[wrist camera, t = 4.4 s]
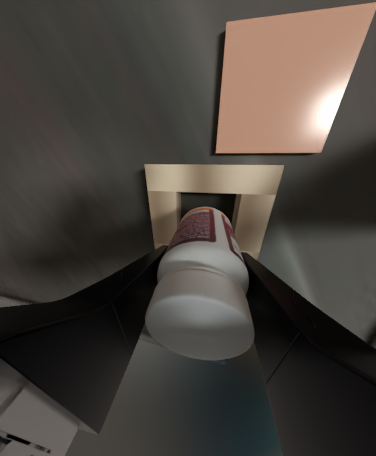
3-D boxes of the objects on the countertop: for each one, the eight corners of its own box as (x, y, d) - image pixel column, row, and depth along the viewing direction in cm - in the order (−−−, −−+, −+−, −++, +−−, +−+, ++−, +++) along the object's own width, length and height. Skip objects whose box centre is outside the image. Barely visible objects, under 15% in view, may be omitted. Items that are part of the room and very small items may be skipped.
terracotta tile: (368, 12, 9) (378, 1, 8) (316, 153, 12) (320, 152, 12) (225, 29, 10) (226, 21, 9) (215, 153, 13) (215, 153, 13)
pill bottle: (173, 241, 13) (125, 340, 6) (189, 197, 11) (147, 264, 4) (217, 258, 13) (225, 378, 6) (242, 218, 11) (304, 325, 4)
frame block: (271, 165, 13) (284, 165, 11) (248, 256, 18) (254, 269, 16) (154, 164, 15) (144, 164, 12) (162, 248, 19) (156, 258, 17)
